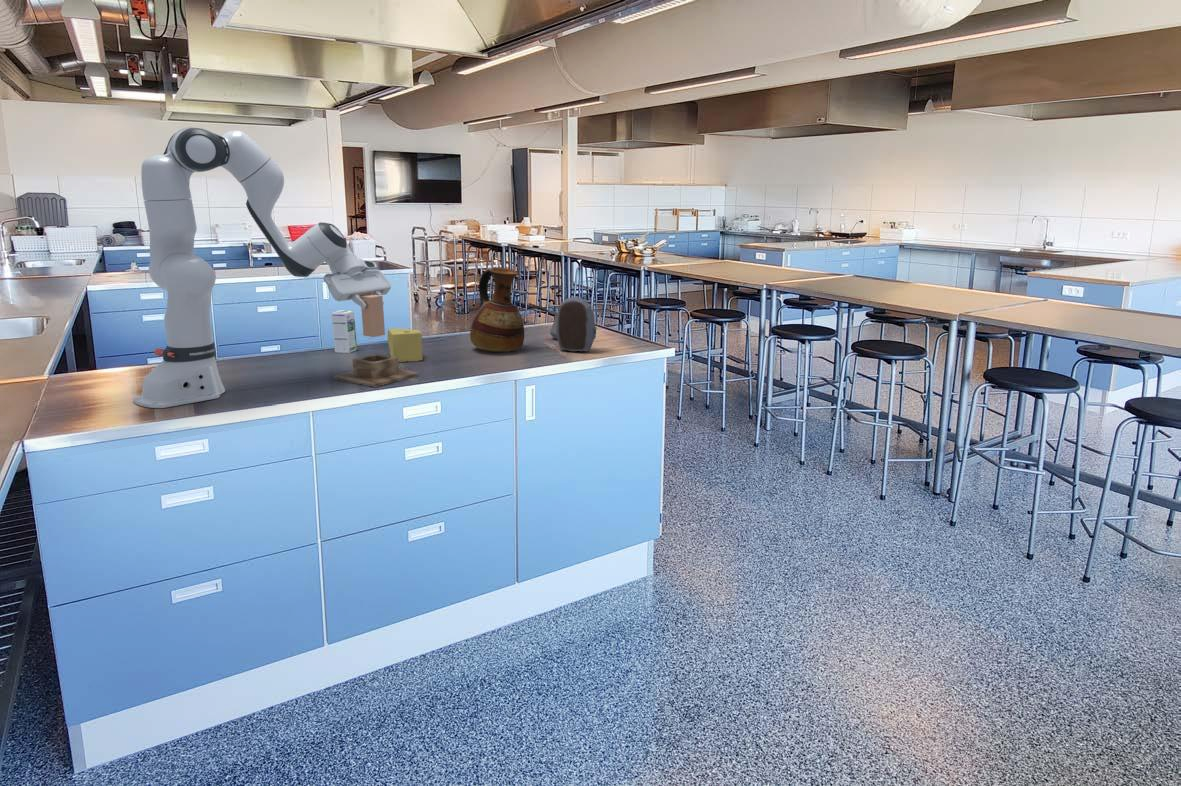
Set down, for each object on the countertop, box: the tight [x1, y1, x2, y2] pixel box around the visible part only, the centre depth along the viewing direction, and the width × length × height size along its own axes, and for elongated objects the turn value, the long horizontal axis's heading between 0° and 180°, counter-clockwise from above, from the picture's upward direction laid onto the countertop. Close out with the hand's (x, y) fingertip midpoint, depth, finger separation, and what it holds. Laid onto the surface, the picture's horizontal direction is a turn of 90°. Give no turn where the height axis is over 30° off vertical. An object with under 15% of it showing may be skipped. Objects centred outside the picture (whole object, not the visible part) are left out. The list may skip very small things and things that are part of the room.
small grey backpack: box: [556, 296, 597, 353], centre depth 269 cm, size 15×8×20 cm, turn 72°
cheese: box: [387, 327, 423, 363], centre depth 253 cm, size 10×11×10 cm
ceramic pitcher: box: [469, 267, 525, 353], centre depth 267 cm, size 20×20×30 cm
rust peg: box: [360, 295, 386, 338], centre depth 224 cm, size 4×4×12 cm
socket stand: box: [332, 353, 419, 388], centre depth 228 cm, size 18×18×6 cm
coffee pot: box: [526, 302, 560, 340], centre depth 289 cm, size 21×12×15 cm, turn 115°
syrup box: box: [331, 309, 358, 354], centre depth 262 cm, size 6×6×14 cm
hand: (373, 306), depth 222 cm, fingers closed on rust peg, 4 cm apart
